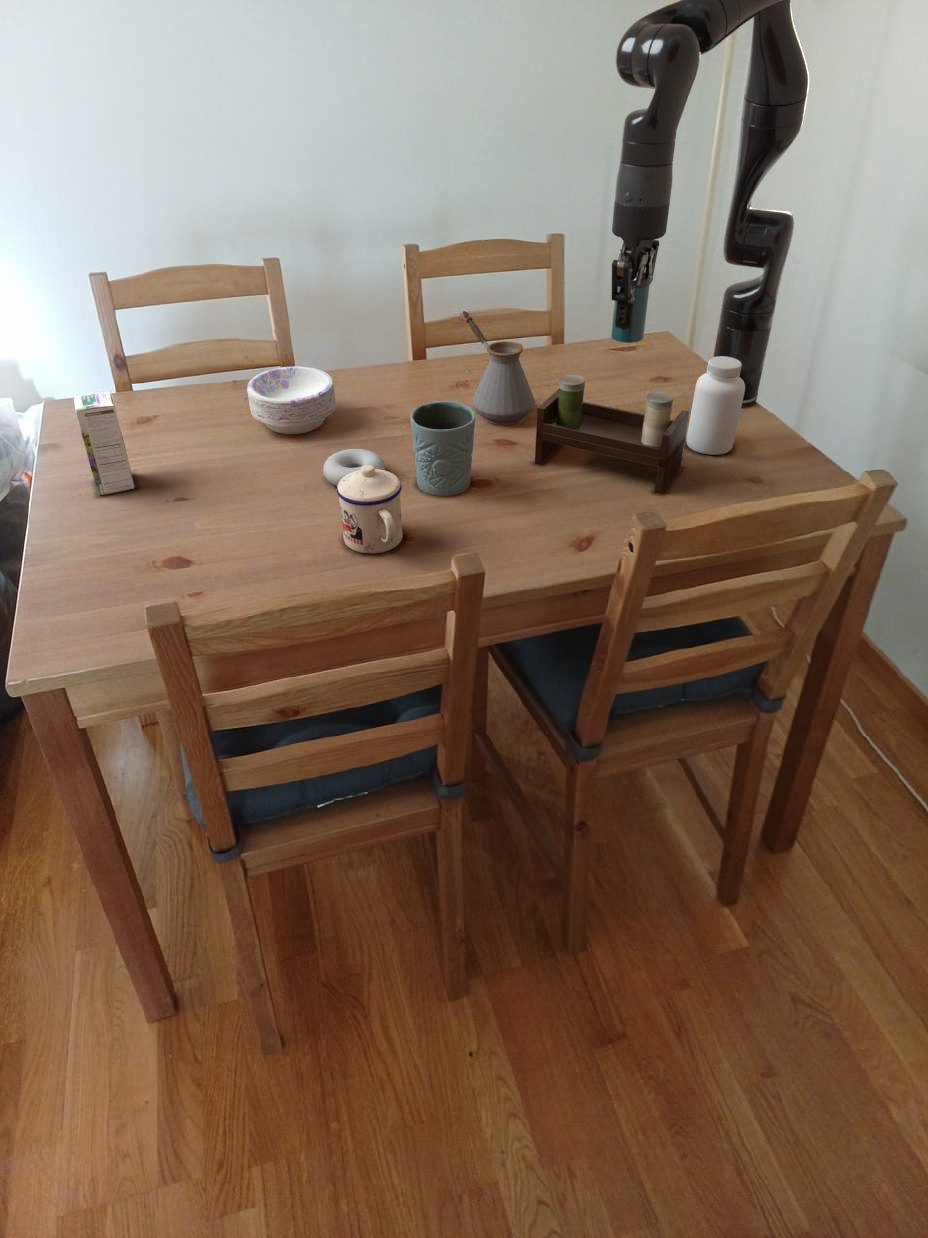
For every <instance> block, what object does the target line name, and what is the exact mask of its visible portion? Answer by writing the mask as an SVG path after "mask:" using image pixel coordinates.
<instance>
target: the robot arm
mask: <svg viewBox="0 0 928 1238" xmlns="http://www.w3.org/2000/svg"><path fill="white" fill-rule="evenodd" d="M750 20H752V31H751V41H750V50H749V51H750V52H749V60H748V68H747V75H746V82H745V87H744V94H743V101H742V103H743V104H742V110H741V111H742V112H741V119H740V129H739V130H740V131H739V141H738V150H737V151H738V152H737V161H736V169H735V177H734V182H733V186H732V187H733V188H732V194H731V199H730V205H729V208H728V209H729V210H728V214H727V215H728V216H727V221H726V226H725V233H724V238H723V257H724V260H725V262H726V263H727V264H729V265H733V266H739V267H747V268H754V269H762V270H763V273H762V274H760V275H759V276H757V277H754V278H753V279H749V280H745V281H740V282H737V283H733V284H731V285H728V286H727V287H726V289H725V291H724V293H723V296H722V303H721V308H720V315H719V321H718V327H717V333H716V337H715V345H714V351H713V355H712V358H713V357H718V356H725V357H731V358H735V359H737V360H739V361H740V362H741V364H742V367H741V372H740V376H739V377H740V378H741V379H742V380H743V381H744V384H745V392H744V397H743V402H742V406H741V407H745V406H750V405H753V404H754V403H756V402H757V400H758V396H759V388H760V383H761V379H762V374H763V370H764V365H765V359H766V356H767V350H768V347H769V346H768V345H769V342H770V336H771V331H772V326H773V321H774V317H775V312H776V307H777V303H778V297H779V292H780V287H781V282H782V277H783V274H784V269H785V266H786V262H787V258H788V254H789V251H790V247H791V243H792V239H793V236H794V229H795V219H794V216H793V214H792V213H791V212H790V211H787V210H786V211H785V210H778V209H777V210H776V209H769V208H768V209H767V208H757V207H752V200H753V197H754V195H755V193H756V191H757V189H758V188H759V186H760V185H761V183H762V181H763V180H764V179H765V178H766V176H767V174H768V173H769V172H770V171H771V169H773V167H774V166H775V165H776V164H777V163H778V161H779V160H780V159H781V158H782V156H783V155H785V153H786V152H787V151H788V149H789V148H790V147H791V146H792V144H793V143H794V141H795V140H796V138H797V137H798V136H799V133H800V131H801V129H802V127H803V122H804V118H805V117H804V116H805V111H806V105H807V100H808V94H809V87H810V76H809V75H810V74H809V71H808V65H807V61H806V58H805V55H804V51H803V48H802V46H801V42H800V39H799V37H798V35H797V31H796V27H795V25H794V19H793V13H792V0H678V1H675V2H673V3H669V4H667V5H665V6H663V7H661V8H659V9H656V10H654V11H652V12H650V13H647V14H646V15H644V16H643V17H641V18H639V19H637V20H636V21H635V22H634V23H632V25H630V26H629V27H628V28H627V30H626V31H625V32H624V34H622V35H623V36H622V37H621V39H620V41H619V42H618V45H617V47H616V48H617V49H616V54H615V68H616V71H617V74H618V76H619V78H620V79H621V80H622V81H623V82H624V83H625V84H627V85H629V86H632V87H634V88H635V87H636V88H644V89H650V90H652V89H653V90H654V92H653V95H652V98H651V100H650V103H649V105H648V106H647V108H641V109H636V110H633V111H631V112H630V113H628V114H627V115H626V117H625V119H624V122H623V128H622V135H621V147H620V155H619V156H620V157H619V166H618V170H617V174H616V180H615V191H614V203H613V211H612V213H613V215H612V223H611V227H612V228H611V232H612V234H613V235H614V236H616V237H617V238H620V239H622V242H623V243H622V246H621V248H620V250H619V252H618V257H617V259H613V261H612V263H611V295H610V296H611V301H614V302H615V301H618V302H617V311H616V321H615V326H616V327H618V328H623V329H628V328H629V327H630V326H631V321H632V312H633V302H634V299H635V298H634V297H635V293H636V288H637V287H638V286H640V284H641V280H642V275H643V273H647V274H650V275H651V284H652V282H653V280H654V275H655V274H654V273H655V270H656V269H655V267H656V262H657V257H658V252H659V248H660V240H659V239H661V238H663V237H664V236H665V235H666V234H667V228H668V221H669V214H670V213H669V212H670V205H671V196H672V188H673V176H674V175H673V169H674V168H673V167H674V166H673V165H674V163H673V162H674V157H675V150H676V142H677V132H678V127H679V124H680V122H681V119H682V117H683V113H684V111H685V108H686V104H687V102H688V99H689V96H690V94H691V90H692V88H693V85H694V83H695V80H696V77H697V76H698V75H697V74H698V71H699V68H700V62H701V56H702V55H705V54H707V53H709V52H710V51H713V50H714V49H716V47H718V46H719V45H720V44H721V43H722V42H724V41H725V40H726V39H727V38H728V37H730V36H731V35H732V34H734V32H736V31H737V30H738V29H739V28H740V27H742V26H743V25H745V24H747V22H749V21H750ZM631 277H635V279H634V280H631ZM623 288H625V293H622V291H623Z"/></svg>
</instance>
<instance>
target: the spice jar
mask: <svg viewBox="0 0 928 1238" xmlns="http://www.w3.org/2000/svg"><path fill="white" fill-rule="evenodd" d="M634 279H635V277H631V280H634ZM651 284H652V283H651V275H650V274H647V273H643V275H642V280H641V284H640V286H638V287H637V288H636V293H635V297H634V298H635V299H634V302H633V312H632V321H631V326H630V327H629V328H628V329H623V328H618V327H616V326H615V321H616V311H617V302H618V301H614V305H613V313H612V314H613V315H612V326H611V335H610V337H611V339H612V340H614V341H617V342H619V343H625V344H626V343H627V344H630V343H633V344H634V343H639V342H641V341H643V340H644V336H645V330H646V329H645V328H646V320H647V312H648V303H649V295H650V289H651V288H650V286H651ZM622 293H625V288H623V291H622Z"/></svg>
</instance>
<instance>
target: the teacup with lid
mask: <svg viewBox="0 0 928 1238" xmlns="http://www.w3.org/2000/svg"><path fill="white" fill-rule="evenodd" d="M401 492H402V483H401V480H400V479H399V478H398V476H397V475H395V474H394V473H392V472H390V471H387V470H386V469H385V470H380V469H375V468H374V467H373V466H371V465H365V466H363V467H362V468H361V470H358V471H354V472H351V473H349V474H347V475H346V476H344V477H343V478H342V479H341V480H340V481H339V483H338V486H336V493H337V495H338V498H339V508H340V517H341V526H342V527H341V529H342V536H343V541H344V543H345V545H346V546H347V547H348V548H349V549H351V550H352V551H354V552H358V553H362V554H369V555H371V554H381V553H384V552H388V551H391V550H392V549H395V548H396V547H397V546H398V545H399V544H400V543H401V541H402V539H403V519H402V504H401V503H402V501H401V499H402V498H401Z"/></svg>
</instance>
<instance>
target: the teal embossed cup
mask: <svg viewBox="0 0 928 1238" xmlns="http://www.w3.org/2000/svg"><path fill="white" fill-rule="evenodd" d="M409 415H410V417H409V420H410V427H411V436H412V447H413V453H414V462H415V463H414V464H415V472H416V484H417V486H418V488H419V490H420V491H422V492H423V493H425V494H428V495H431V496H437V497H451V496H455V495H458V494H461V493H463V492H465V491H466V490H467V489H468V488H469V486H470V482H471V472H472V464H473V463H472V461H473V457H472V456H473V452H474V438H475V425H476V412H475V410H473V409H472V408H471V407H470V406H468V405H466V404H463V403H461V402H457V401H450V400H438V401H437V400H436V401H429V402H426V403H421V404H420V405H418V406H416V407H415V408H414V409H413V410H412V411H411V413H410V414H409Z"/></svg>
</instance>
